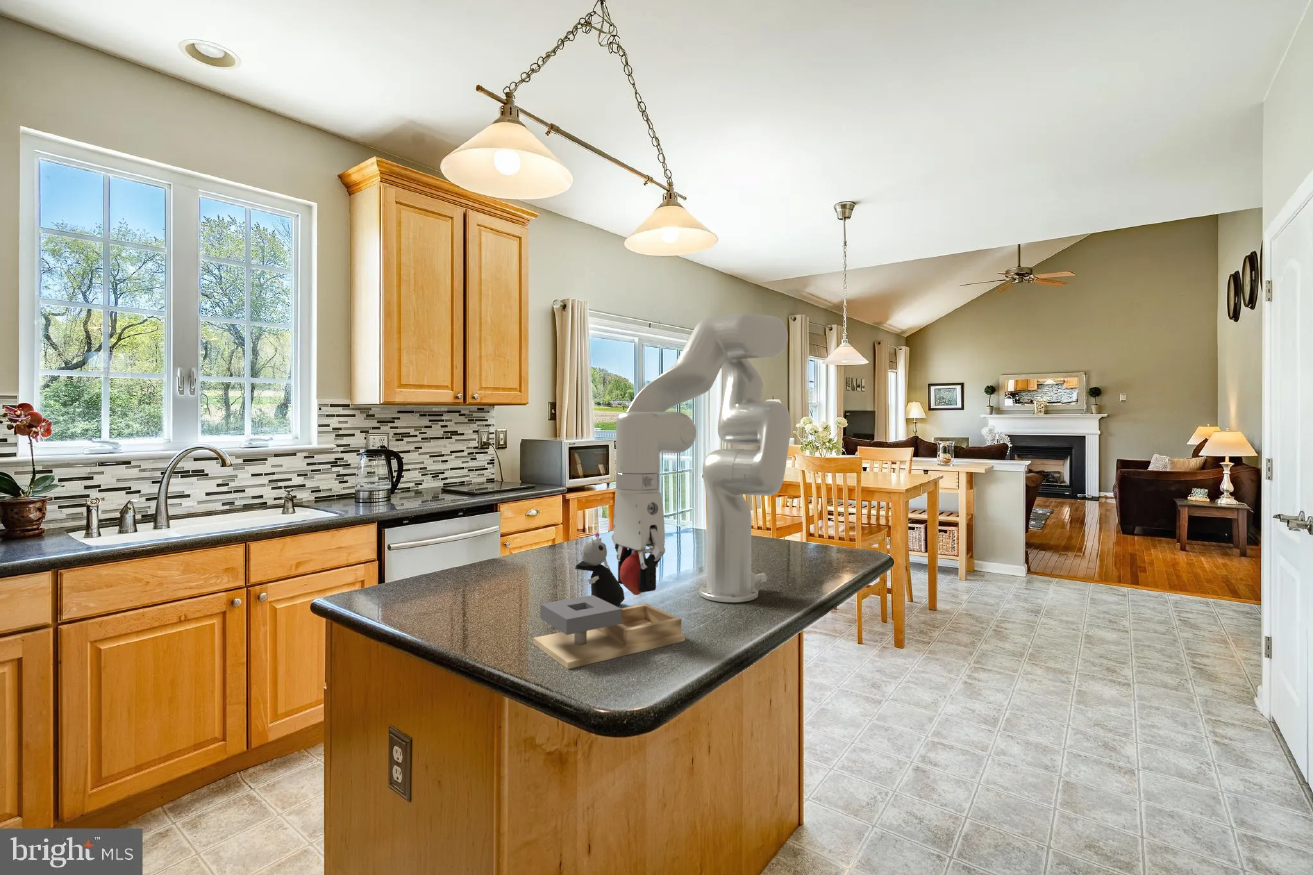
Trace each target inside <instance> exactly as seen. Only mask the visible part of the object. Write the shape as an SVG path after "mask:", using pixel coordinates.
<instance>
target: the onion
mask: <svg viewBox="0 0 1313 875" xmlns="http://www.w3.org/2000/svg"><path fill="white" fill-rule="evenodd" d="M639 568H641V563H640V558H639V553H638V551H636V550H634V553H633V554H632V555H630V556H629V557H628V558H626V559H625V561H624V562H623V563H622V566H621V568H620V579H621V582H622V584H621V585H623V586H624V587H625V589H627V590H628V591H629V592H630V593H631V594H633V595H634V596H639V595H641V592H639Z"/></svg>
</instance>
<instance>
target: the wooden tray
mask: <svg viewBox="0 0 1313 875" xmlns="http://www.w3.org/2000/svg"><path fill="white" fill-rule="evenodd" d="M621 609H622V624H618V625H613V626H608V627H603V628H598V629H593V630H589V631H584V632H579V633H574V634H569V635H566V634H564V633H563V632H561V631H559V632H556V633H552V634H550V633H549V634H546V635H545V634H544V635H541V636H536V637H532V642H533V643H532V644H533V645H534V646H535V647H536V648H538V649H539V650H541V651H543V652H544V653H545V654H547V655H548V656H549V658H550V657H551V659H553V660H555V661H556V662H557V663H559V664H560V665H562V667H564V668H565V669H567V670H570V669H574V668H577V667H582V666H586V665H591V664H594V663H598V662H603V661H608V660H611V659H616V658H620V657H624V656H628V655H632V654H636V653H640V652H644V651H648V650H653V649H658V648H662V647H665V646H669V645H670V646H671V645H674V644H678V643H682V642H686V641H685V640H686V635H685V634H683V633H682V618H681V617H679V616H676V615H673V614H671V613H668V612H666V611H664V610H662V609H659V608H657V607H656V606H652V605H650V604H648V603H643V604H638V605H632V606H626V607H621Z"/></svg>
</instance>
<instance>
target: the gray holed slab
mask: <svg viewBox="0 0 1313 875" xmlns="http://www.w3.org/2000/svg"><path fill="white" fill-rule="evenodd" d="M621 608H622V607H621ZM621 608H620V607H619V606H615V605H612V604H610V603H608V602H606V601H604V600H602V599H600V598H598V597H596V596H594V595H591V594H590V595H585V596H580V597H574V598H568V599H562V600H556V601H551V602H550V601H549V602H544V603H540V610H539V612H540V616H539V617H540V619H541V620H542V621H544V622H545V623H547V624H549V625H550V626H551V627H554V628H555V629H556V630H558V631H559V632H563V633H564V634H566V635H569V634H574V633H579V632H584V631H589V630H593V629H598V628H603V627H608V626H613V625H618V624H622V609H621Z"/></svg>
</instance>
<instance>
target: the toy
mask: <svg viewBox="0 0 1313 875" xmlns="http://www.w3.org/2000/svg"><path fill="white" fill-rule="evenodd" d="M594 536H595V539H594V538H593V537H591V539H590V540H588V541H586V542H585V543H584V544H583V546H582V548H581V551H580V554H581V559H582V561H580V562H579V563H576V564H575V570H580V571H587V572H592V573H591V575H590V578H589V579H587V581H588V584H589V585H590V595H594V596H596V597H598V598H600V599H602V600H604V601H606V602H608V603H610V604H612V605H615V606H617V607H619V606H620V605H621V604H622V603H623V601H624V600H625V592H624V589H623V587H622V584H619V583H618V578H616V576H615V575H614V574H613V572H612V570H611V568H610V565H609V564H608V561H607V554H608V549H607V545H606V544H605V543H603V541H602V537H600V533H595V535H594Z"/></svg>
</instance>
